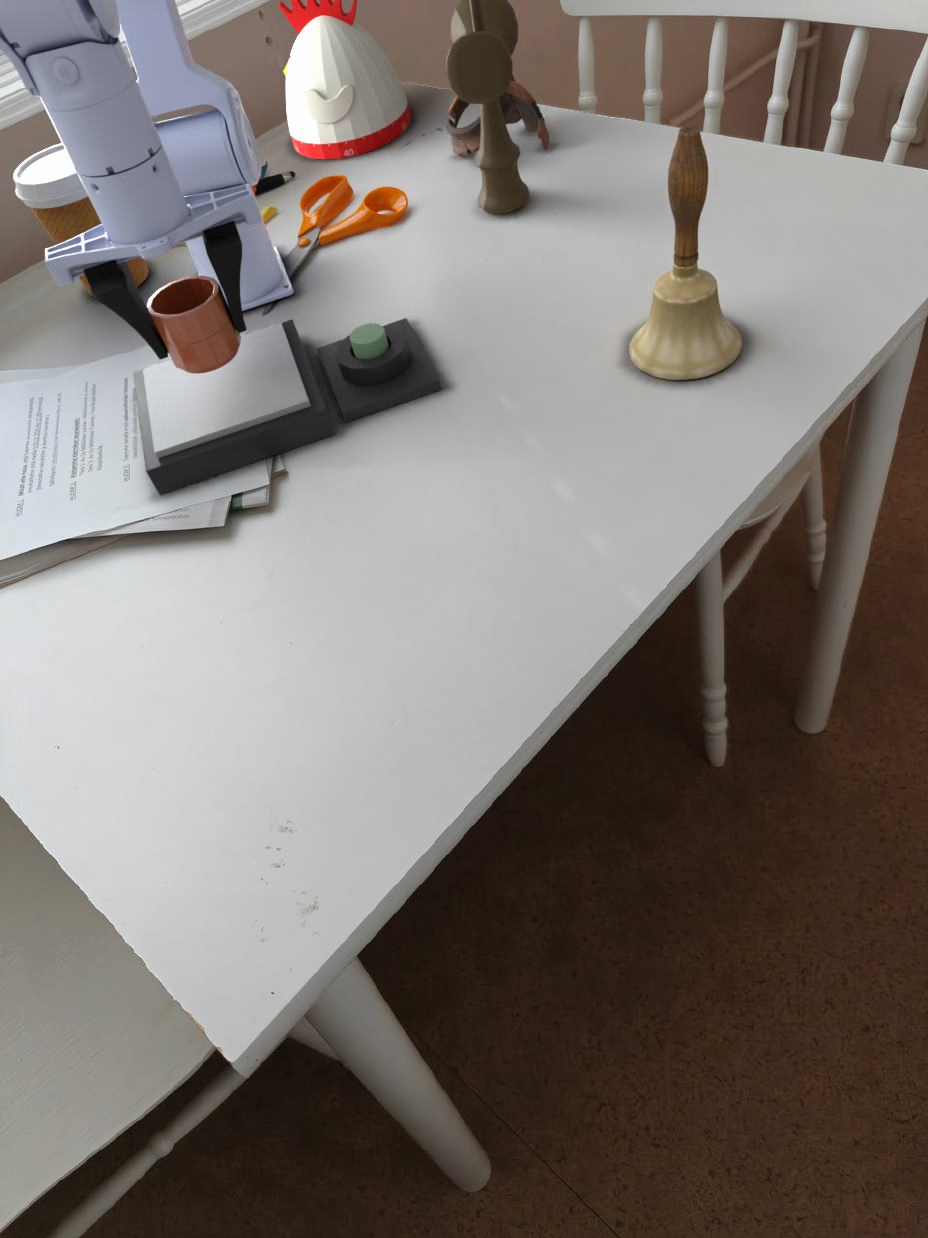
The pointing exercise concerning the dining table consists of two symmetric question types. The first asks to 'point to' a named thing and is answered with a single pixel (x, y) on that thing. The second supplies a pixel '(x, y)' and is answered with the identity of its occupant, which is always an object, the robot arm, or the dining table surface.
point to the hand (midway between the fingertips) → (201, 338)
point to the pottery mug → (514, 108)
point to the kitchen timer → (339, 85)
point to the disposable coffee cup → (62, 201)
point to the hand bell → (686, 285)
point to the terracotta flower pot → (194, 324)
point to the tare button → (369, 341)
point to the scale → (229, 410)
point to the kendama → (488, 94)
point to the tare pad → (378, 373)
